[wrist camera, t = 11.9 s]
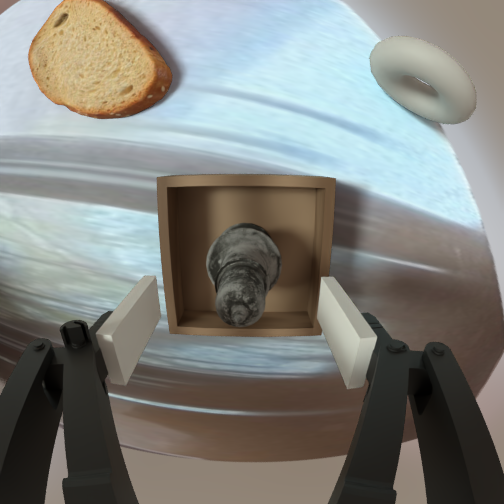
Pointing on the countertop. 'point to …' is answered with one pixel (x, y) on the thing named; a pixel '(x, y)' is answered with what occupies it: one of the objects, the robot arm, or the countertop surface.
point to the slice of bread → (96, 62)
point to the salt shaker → (243, 272)
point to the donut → (423, 79)
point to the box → (245, 211)
